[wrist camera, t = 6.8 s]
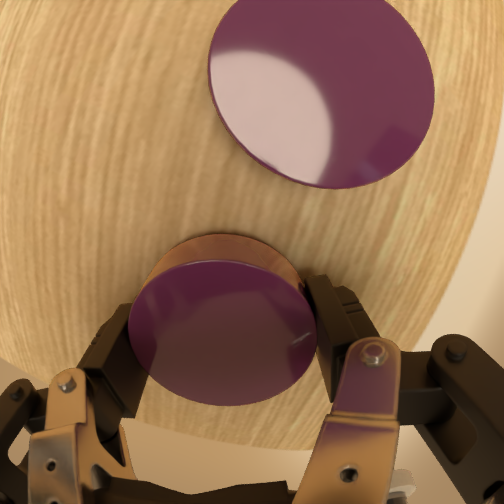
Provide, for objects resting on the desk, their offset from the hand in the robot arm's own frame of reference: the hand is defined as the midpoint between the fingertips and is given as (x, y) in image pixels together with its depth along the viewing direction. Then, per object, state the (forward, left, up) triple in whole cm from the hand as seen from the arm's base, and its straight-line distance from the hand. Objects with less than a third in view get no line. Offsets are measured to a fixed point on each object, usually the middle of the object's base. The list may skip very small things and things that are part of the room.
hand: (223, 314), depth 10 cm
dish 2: (+7, -4, -1) cm, 8 cm away
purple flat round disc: (0, 0, -1) cm, 1 cm away
